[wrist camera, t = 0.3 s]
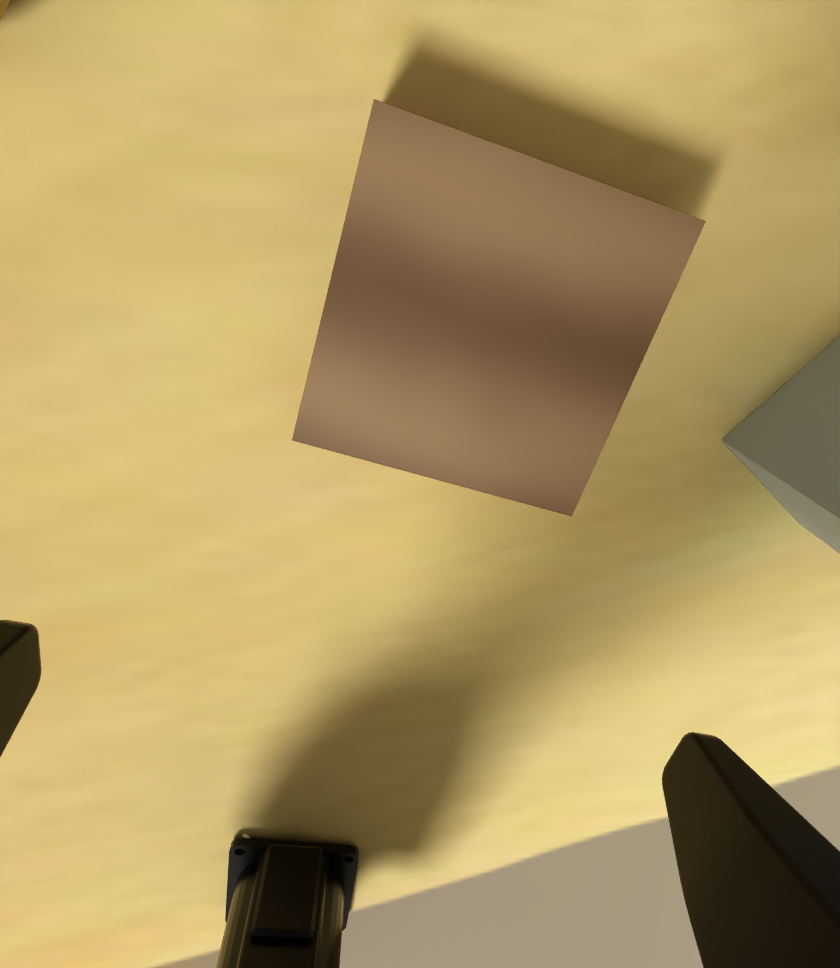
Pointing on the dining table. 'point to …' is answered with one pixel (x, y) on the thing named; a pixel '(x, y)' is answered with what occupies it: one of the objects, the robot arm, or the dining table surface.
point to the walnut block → (485, 313)
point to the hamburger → (3, 7)
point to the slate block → (799, 445)
